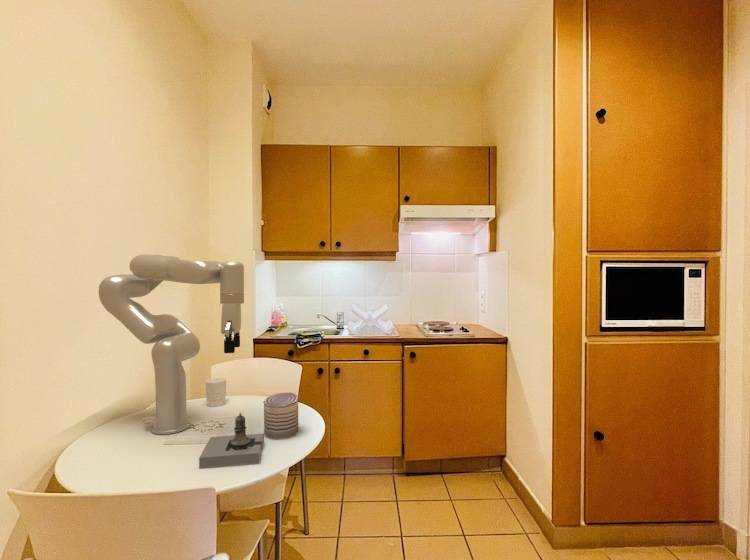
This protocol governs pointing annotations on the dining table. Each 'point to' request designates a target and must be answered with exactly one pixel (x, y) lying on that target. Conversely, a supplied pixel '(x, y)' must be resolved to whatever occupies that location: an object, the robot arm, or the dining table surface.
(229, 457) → the plate
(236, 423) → the dark chess piece
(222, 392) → the white cup
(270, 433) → the can
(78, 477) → the dining table surface
